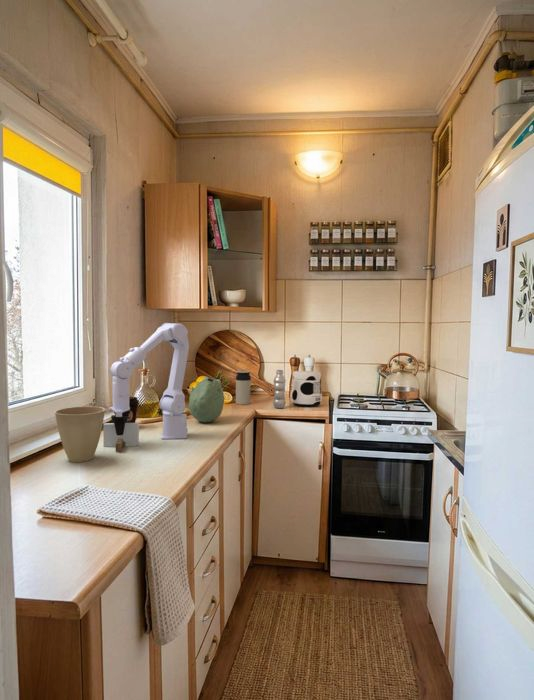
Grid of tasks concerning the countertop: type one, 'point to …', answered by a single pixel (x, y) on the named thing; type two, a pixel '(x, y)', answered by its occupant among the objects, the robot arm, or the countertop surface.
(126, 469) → the countertop surface
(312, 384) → the milk container
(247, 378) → the travel mug
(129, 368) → the robot arm
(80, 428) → the plant pot
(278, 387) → the plastic bottle
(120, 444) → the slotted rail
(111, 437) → the grey arch block
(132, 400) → the coffee cup
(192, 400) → the green faceted ovoid
